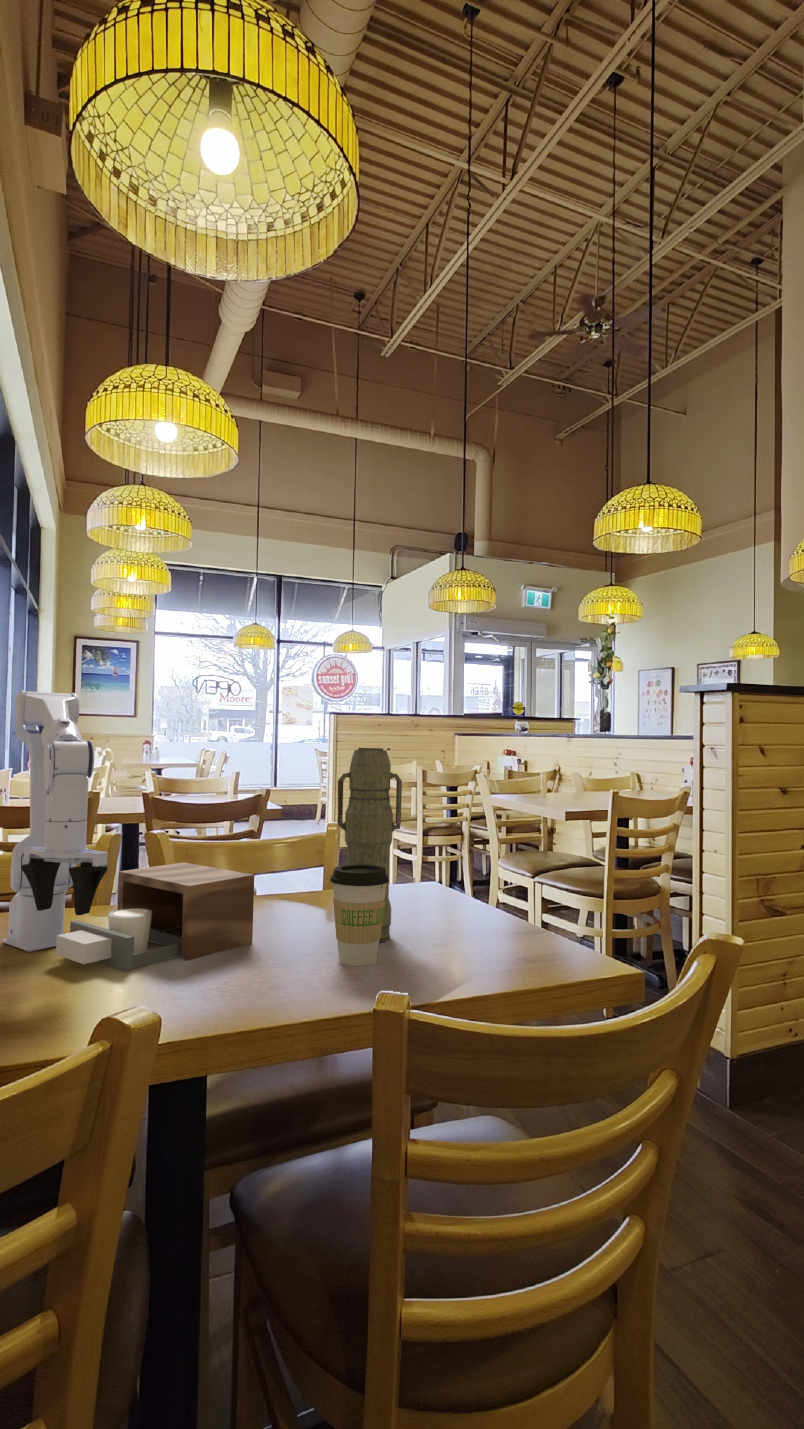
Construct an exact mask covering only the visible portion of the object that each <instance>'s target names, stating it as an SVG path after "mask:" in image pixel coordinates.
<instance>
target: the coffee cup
mask: <svg viewBox="0 0 804 1429" xmlns="http://www.w3.org/2000/svg"><path fill="white" fill-rule="evenodd" d="M329 881H330V882H331V883H332V892H333V897H332V901H333V903H332V905H333V914H334V926H335V936H336V938H335V939H336V940H337V950H338V951H337V953H338V961H339V963H340V964H342V965H345V966H349V967H350V966H351V967H352V966H353V967H365V966H371V965H373V964H375V963H376V962H377V959H378V951H379V944H380V943H379V940H380V937H381V929H382V922H383V914H384V907H385V899H386V898H385V891H386V884H387V883H388V882H389V883H390V876H389V877H388V876H387V874H386V870H385V868H383V867H380V866H374V865H347V864H344V865H340V866H335V867H334V868H333V872H332V874H331V875H330V879H329Z"/></svg>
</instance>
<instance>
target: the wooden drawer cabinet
mask: <svg viewBox="0 0 804 1429" xmlns="http://www.w3.org/2000/svg"><path fill="white" fill-rule="evenodd" d="M117 879H118V881H117V882H118V883H117V885H118V886H117V909H116V910H121V909H131V908H140V909H148V910H151V911H152V917H151V925H150V928H151V929H155V930H158V931H162V932H165V931H170V930H175V929H179V928H181V937H182V949H181V956H180V959H181V960H183V961H190V960H194V959H198V958H202V957H205V956H210V955H213V954H216V953H221V952H224V951H228V950H231V949H235V948H239V947H243V946H246V945H250V944H253V938H254V937H253V933H254V932H253V931H254V928H253V927H254V903H255V902H254V896H255V895H254V894H255V874H251V873H247V872H246V873H245V872H240V871H236V870H230V869H223V868H217V867H211V866H205V865H201V864H195V863H190V862H179V863H178V862H177V863H171V864H170V863H169V864H163V865H156V866H148V867H142V868H134V869H127V870H121V871H118V878H117Z"/></svg>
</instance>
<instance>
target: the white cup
mask: <svg viewBox="0 0 804 1429" xmlns="http://www.w3.org/2000/svg"><path fill="white" fill-rule="evenodd" d="M107 917H108V929H109V930H113V931H116V932H120V933H123V934H127V935H130V936H133V937H134V953H137V952H141V951H145V950H148V947H149V933H150V925H151V917H152V911H151V910H148V909H140V908H131V909H121V910H117V909H116V910H113V911H110V912H108V914H107Z"/></svg>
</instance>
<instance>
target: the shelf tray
mask: <svg viewBox="0 0 804 1429" xmlns="http://www.w3.org/2000/svg"><path fill="white" fill-rule="evenodd" d="M69 923H70V924H69V926H70V927H69V932H66V933H64V934H60V935H57V943H56V946H55V947H56V949H55V955H56V956H59V957H62V958H65V959H67V960H71V961H74V962H76V963H80V964H81V965H87V964H90V963H91V964H92V963H95V962H97V963H100V964H103V965H106V966H109V967H112V968H115V969H118V970H121V971H124V972H128V971H132V970H134V969H136V968H138V967H142V966H146V965H150V964H153V963H158V962H162V961H166V960H169V959H173V958H176V957H181V949H182V936H179V935H176V934H173V933H168V932H165V931H158V930H155V929H151V928H150V933H149V941H148V943H153V944H157V945H160V946H159V947H154V948H151V949H147V950H145V951H141V952H137V953H134V937H133V936H130V935H127V934H123V933H120V932H116V931H113V930H109V928H105V927H102V926H99V925H95V924H93V923H88V922H85V921H82V920H78V919H76V920H71V921H70V922H69Z"/></svg>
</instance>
